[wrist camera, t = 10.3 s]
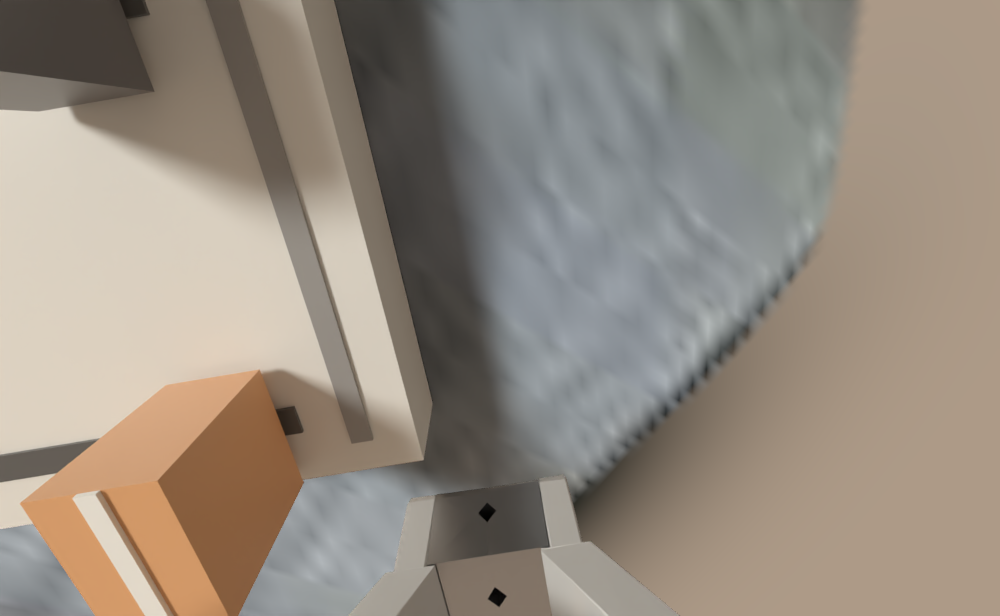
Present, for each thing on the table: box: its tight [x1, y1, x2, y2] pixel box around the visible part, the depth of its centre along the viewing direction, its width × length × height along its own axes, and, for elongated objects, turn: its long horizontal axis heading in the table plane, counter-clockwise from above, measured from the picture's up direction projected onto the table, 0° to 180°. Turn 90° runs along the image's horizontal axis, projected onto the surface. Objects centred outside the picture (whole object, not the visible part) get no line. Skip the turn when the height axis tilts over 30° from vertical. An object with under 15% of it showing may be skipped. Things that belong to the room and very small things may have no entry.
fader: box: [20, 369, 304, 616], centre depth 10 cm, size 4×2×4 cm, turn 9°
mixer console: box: [0, 0, 433, 529], centre depth 12 cm, size 14×18×3 cm
